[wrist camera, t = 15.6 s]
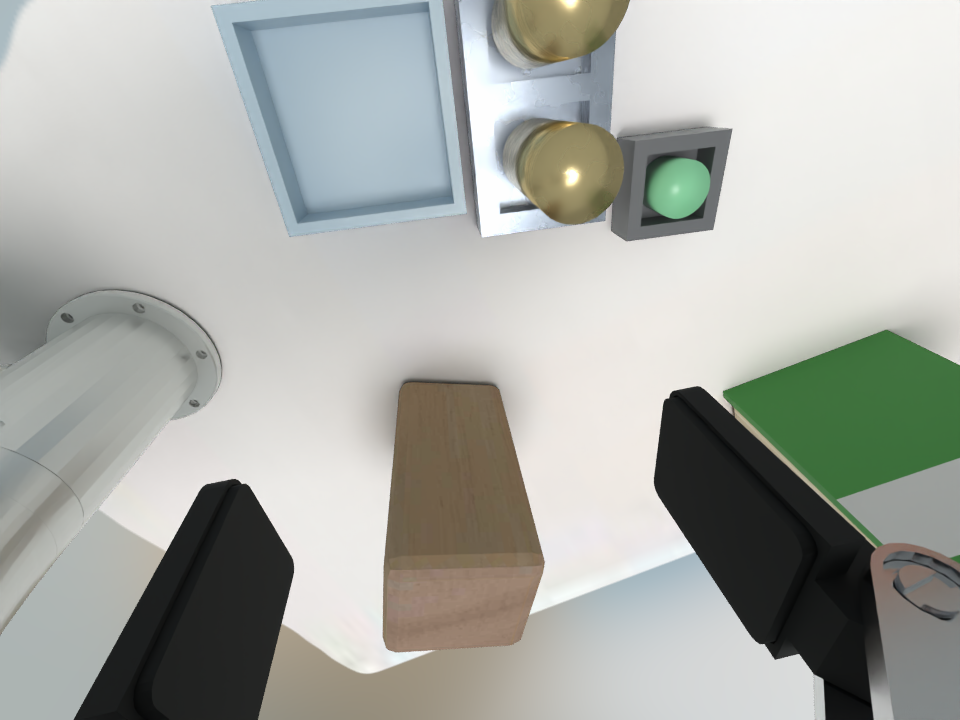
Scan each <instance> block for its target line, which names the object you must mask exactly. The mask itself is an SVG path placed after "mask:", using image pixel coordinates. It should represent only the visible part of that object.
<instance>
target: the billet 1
mask: <svg viewBox="0 0 960 720" xmlns="http://www.w3.org/2000/svg"><path fill="white" fill-rule="evenodd" d="M629 1H630V0H495V1H494V4H493V9H492V15H491V28H492V34H493V38H494V41H495V44H496V46H497V49H498V50H499V52H500V54H501V55H502V56H503V57H504V58H505V59H506V60H507V61H508V62H509V63H510V64H512V65H514V66H516V67H518V68H522V69H533V68H538V67H542V66H546V65H550V64H553V63H557V62H561V61H565V60H569V59H573V58H577V57H581V56H584V55H587V54H589V53H591V52H593V51H595V50H597V49H598V48H599V47H601V46H602V45H603V44H604V43H605V42H607V41H608V40H609V38H610V37H611V36H612V35H613V34H614V32H615V31H616V30H617V28H618V27H619V25H620V23H621V21H622V19H623V17H624V15H625V13H626V10H627V7H628V4H629Z"/></svg>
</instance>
